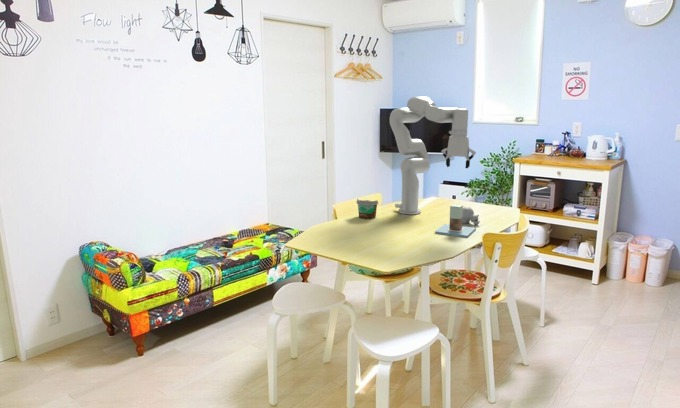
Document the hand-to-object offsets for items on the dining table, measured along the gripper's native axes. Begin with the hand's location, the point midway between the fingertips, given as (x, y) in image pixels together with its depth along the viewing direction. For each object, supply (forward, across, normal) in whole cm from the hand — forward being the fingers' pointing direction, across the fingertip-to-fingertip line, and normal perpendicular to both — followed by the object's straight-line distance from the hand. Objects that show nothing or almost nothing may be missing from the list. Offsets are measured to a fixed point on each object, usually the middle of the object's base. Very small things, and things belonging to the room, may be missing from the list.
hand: (457, 167), depth 255 cm
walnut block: (+29, +4, -12) cm, 32 cm away
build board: (+30, +4, -12) cm, 33 cm away
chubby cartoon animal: (+31, +6, +7) cm, 32 cm away
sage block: (+23, +4, -12) cm, 26 cm away
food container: (+31, -47, -9) cm, 57 cm away
